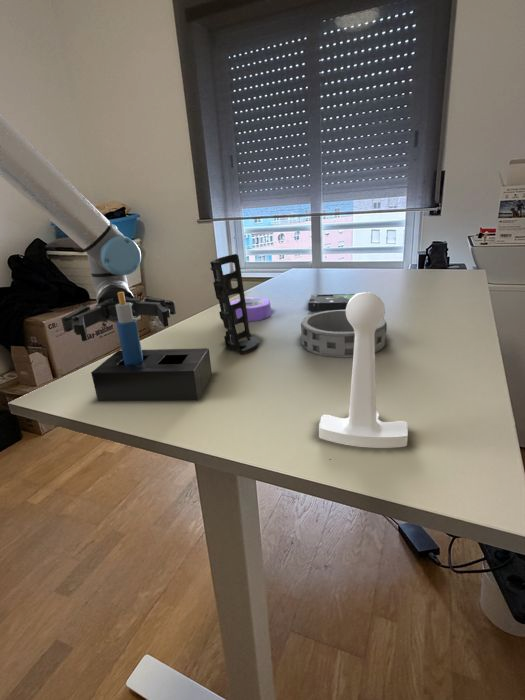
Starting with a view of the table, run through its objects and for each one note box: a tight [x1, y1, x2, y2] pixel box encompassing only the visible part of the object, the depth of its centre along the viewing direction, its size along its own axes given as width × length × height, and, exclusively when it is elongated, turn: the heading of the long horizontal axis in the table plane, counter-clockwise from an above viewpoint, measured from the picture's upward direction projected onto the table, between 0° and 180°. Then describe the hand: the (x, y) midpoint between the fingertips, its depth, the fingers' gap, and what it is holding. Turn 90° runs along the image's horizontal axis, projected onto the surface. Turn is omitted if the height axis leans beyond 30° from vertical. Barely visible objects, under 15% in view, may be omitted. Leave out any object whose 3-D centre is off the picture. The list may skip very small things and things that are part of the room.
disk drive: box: [307, 293, 357, 312], centre depth 117 cm, size 10×3×15 cm
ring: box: [300, 310, 388, 358], centre depth 88 cm, size 18×18×5 cm
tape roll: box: [230, 297, 272, 322], centre depth 114 cm, size 12×12×4 cm
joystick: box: [318, 291, 409, 449], centre depth 51 cm, size 11×8×20 cm
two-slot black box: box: [90, 347, 213, 402], centre depth 71 cm, size 10×17×6 cm, turn 84°
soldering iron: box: [115, 292, 143, 365], centre depth 70 cm, size 3×3×18 cm
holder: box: [209, 253, 261, 355], centre depth 88 cm, size 11×8×20 cm
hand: (125, 326), depth 69 cm, fingers open, 13 cm apart
